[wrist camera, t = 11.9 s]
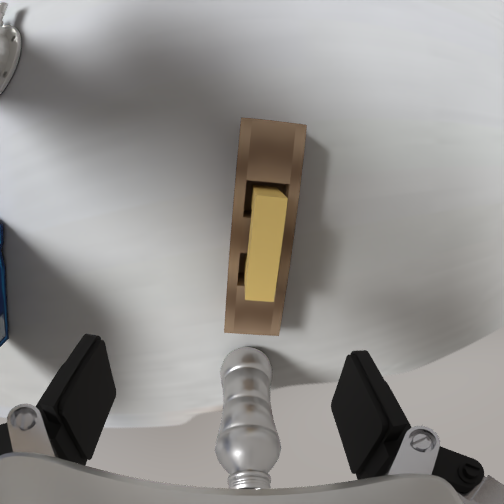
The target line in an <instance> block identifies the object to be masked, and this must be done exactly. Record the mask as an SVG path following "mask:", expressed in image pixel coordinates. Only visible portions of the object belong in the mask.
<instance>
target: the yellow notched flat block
mask: <svg viewBox="0 0 504 504" xmlns="http://www.w3.org/2000/svg"><path fill="white" fill-rule="evenodd" d="M287 201H288V198H287V197H286V196H285V195H284V194H283V193H282V192H281V191H280V190H279V189H278V188H277V187H271V186H261V185H252V194H251V209H252V213H251V223H250V232H249V242H248V252H247V253H246V254H245V264H244V278H245V300H252V301H266V302H274V297H275V290H276V283H277V276H278V269H279V262H280V255H281V247H282V240H283V232H284V225H285V217H286V209H287Z"/></svg>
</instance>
